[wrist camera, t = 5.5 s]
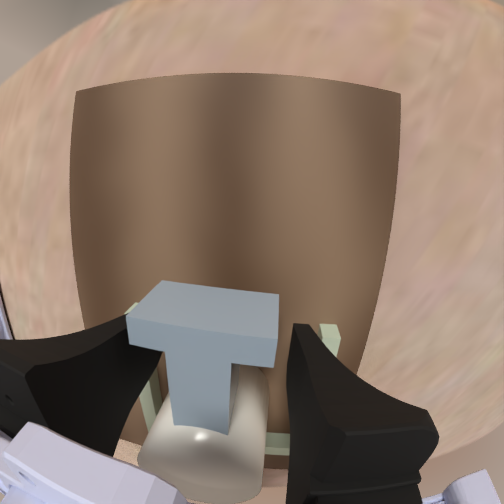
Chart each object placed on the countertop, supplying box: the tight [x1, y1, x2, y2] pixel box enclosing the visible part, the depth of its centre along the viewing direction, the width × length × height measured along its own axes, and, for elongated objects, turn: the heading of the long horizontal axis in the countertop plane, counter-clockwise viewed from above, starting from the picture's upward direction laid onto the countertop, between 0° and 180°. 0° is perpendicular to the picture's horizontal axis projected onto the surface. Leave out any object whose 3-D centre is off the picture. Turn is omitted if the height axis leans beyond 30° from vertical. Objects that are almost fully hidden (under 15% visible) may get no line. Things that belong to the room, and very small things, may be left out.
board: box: [70, 73, 401, 469], centre depth 14 cm, size 15×23×1 cm, turn 176°
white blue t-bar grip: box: [126, 280, 279, 504], centre depth 11 cm, size 9×5×6 cm, turn 175°
